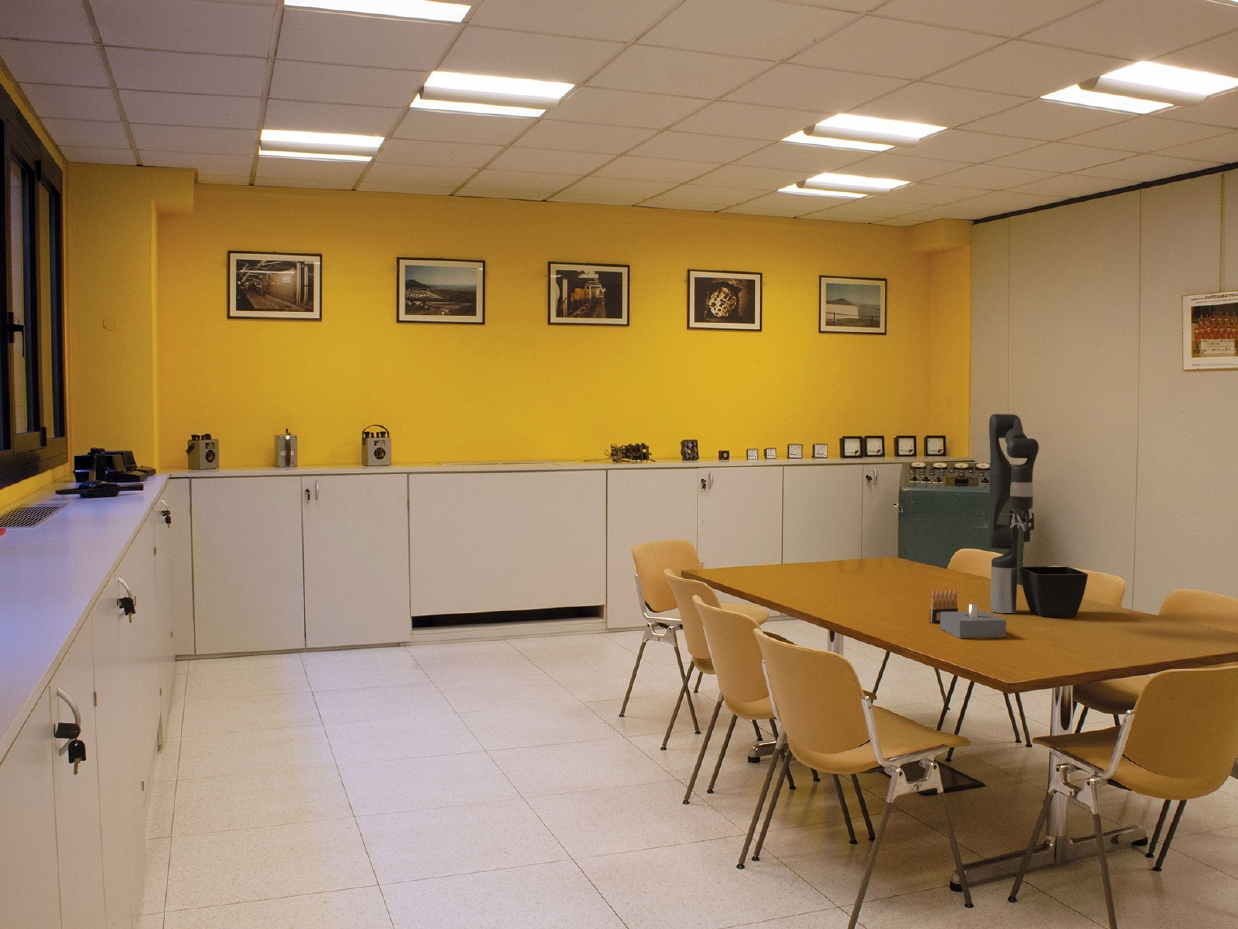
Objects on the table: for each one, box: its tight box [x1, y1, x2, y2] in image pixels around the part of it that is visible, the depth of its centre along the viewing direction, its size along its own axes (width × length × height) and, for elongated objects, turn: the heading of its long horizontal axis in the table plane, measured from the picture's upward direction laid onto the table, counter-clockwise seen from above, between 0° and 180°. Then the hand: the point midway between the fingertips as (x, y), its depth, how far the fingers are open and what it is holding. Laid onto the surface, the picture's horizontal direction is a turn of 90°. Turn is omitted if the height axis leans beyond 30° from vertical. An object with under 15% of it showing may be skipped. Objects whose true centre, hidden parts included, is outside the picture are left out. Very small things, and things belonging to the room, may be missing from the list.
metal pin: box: [967, 603, 979, 617], centre depth 350 cm, size 3×3×10 cm
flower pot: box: [1018, 566, 1089, 618], centre depth 385 cm, size 19×19×17 cm
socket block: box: [939, 610, 1007, 639], centre depth 350 cm, size 16×16×6 cm
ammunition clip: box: [928, 588, 959, 624], centre depth 368 cm, size 11×2×12 cm, turn 105°
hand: (1020, 540), depth 364 cm, fingers open, 8 cm apart
